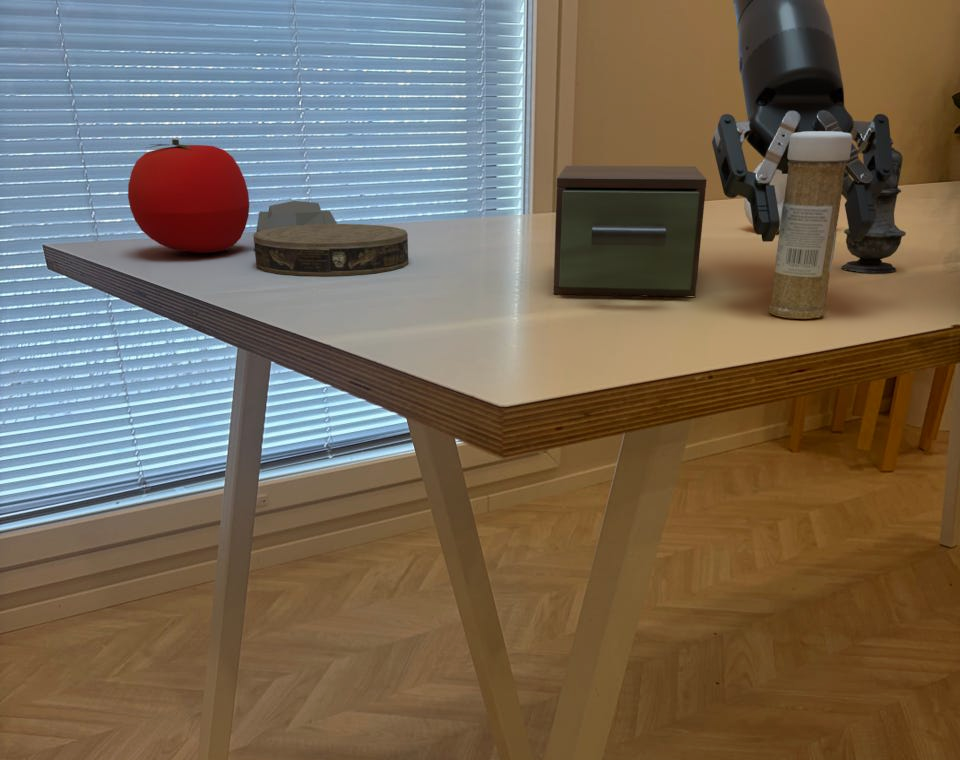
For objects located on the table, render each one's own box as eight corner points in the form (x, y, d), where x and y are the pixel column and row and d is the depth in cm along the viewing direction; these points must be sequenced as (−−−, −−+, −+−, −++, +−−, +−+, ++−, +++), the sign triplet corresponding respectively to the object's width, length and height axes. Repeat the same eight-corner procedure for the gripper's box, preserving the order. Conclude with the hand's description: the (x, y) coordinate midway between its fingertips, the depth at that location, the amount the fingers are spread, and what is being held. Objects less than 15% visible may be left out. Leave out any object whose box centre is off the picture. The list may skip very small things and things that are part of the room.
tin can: (247, 256, 112) (244, 227, 111) (388, 249, 117) (387, 221, 115) (267, 279, 99) (263, 246, 98) (425, 271, 103) (425, 239, 102)
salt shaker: (872, 275, 101) (896, 140, 95) (825, 267, 105) (845, 137, 100) (911, 270, 104) (936, 138, 98) (864, 262, 108) (885, 136, 102)
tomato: (280, 251, 115) (270, 138, 110) (173, 266, 107) (156, 143, 101) (218, 241, 123) (205, 135, 117) (112, 254, 114) (94, 140, 109)
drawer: (693, 300, 85) (703, 198, 81) (556, 297, 86) (559, 196, 82) (682, 265, 101) (690, 179, 97) (566, 263, 102) (569, 178, 98)
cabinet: (695, 297, 91) (706, 179, 86) (553, 294, 92) (556, 177, 88) (686, 271, 104) (696, 166, 99) (561, 268, 105) (565, 165, 100)
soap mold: (254, 250, 116) (250, 217, 114) (256, 228, 133) (253, 199, 132) (345, 248, 118) (343, 215, 116) (336, 227, 135) (334, 198, 133)
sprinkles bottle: (834, 314, 84) (863, 131, 78) (810, 323, 81) (838, 133, 75) (782, 307, 87) (806, 130, 80) (757, 315, 84) (780, 132, 77)
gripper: (714, 23, 80) (740, 202, 76) (893, 24, 81) (929, 200, 76) (690, 99, 87) (713, 266, 83) (855, 99, 88) (886, 264, 84)
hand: (816, 234), depth 80 cm, fingers open, 6 cm apart
